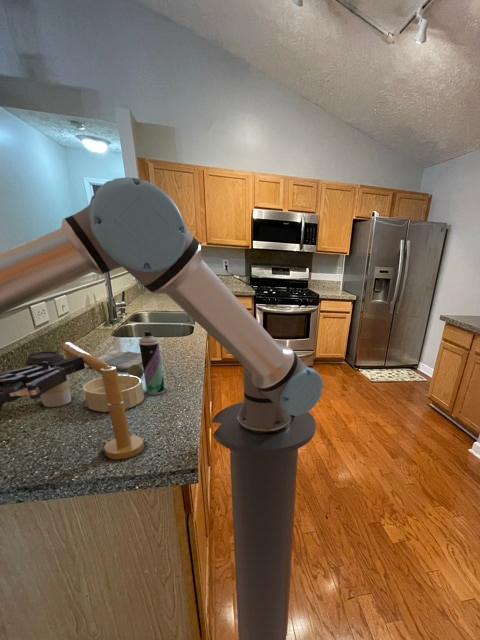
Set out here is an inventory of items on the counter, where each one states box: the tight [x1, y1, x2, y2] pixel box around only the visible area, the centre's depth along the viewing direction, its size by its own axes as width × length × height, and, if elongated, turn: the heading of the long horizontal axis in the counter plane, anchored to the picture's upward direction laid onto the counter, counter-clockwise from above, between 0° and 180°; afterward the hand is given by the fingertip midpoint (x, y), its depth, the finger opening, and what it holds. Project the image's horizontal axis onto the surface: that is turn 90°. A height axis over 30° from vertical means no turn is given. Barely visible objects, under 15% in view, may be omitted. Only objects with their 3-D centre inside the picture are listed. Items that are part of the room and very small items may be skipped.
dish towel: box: [96, 349, 143, 372], centre depth 128 cm, size 19×18×3 cm
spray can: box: [138, 330, 166, 396], centre depth 101 cm, size 6×6×20 cm
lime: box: [127, 365, 144, 379], centre depth 114 cm, size 4×5×5 cm
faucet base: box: [103, 401, 145, 460], centre depth 71 cm, size 8×8×12 cm
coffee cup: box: [25, 350, 72, 408], centre depth 91 cm, size 9×9×15 cm
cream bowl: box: [82, 374, 145, 413], centre depth 95 cm, size 15×15×6 cm
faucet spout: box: [62, 341, 123, 404], centre depth 75 cm, size 29×3×8 cm, turn 49°
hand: (80, 362), depth 71 cm, fingers closed
